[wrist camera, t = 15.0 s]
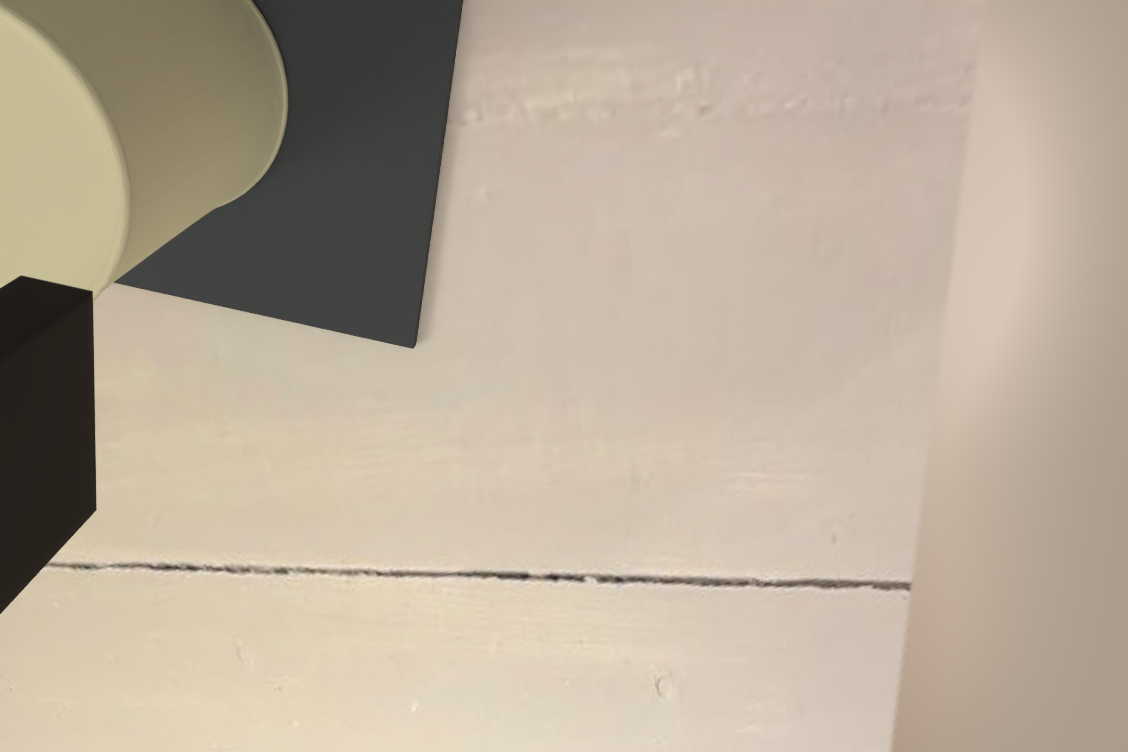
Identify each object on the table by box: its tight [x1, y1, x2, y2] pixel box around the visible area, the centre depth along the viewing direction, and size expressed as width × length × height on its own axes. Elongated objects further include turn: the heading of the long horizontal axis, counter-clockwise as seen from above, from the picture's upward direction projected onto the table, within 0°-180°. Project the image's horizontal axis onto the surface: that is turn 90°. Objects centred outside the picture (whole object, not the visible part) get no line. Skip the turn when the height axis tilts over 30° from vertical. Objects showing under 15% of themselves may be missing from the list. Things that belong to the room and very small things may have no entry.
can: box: [0, 0, 288, 301], centre depth 32 cm, size 9×9×12 cm
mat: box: [114, 0, 463, 348], centre depth 37 cm, size 20×16×1 cm
